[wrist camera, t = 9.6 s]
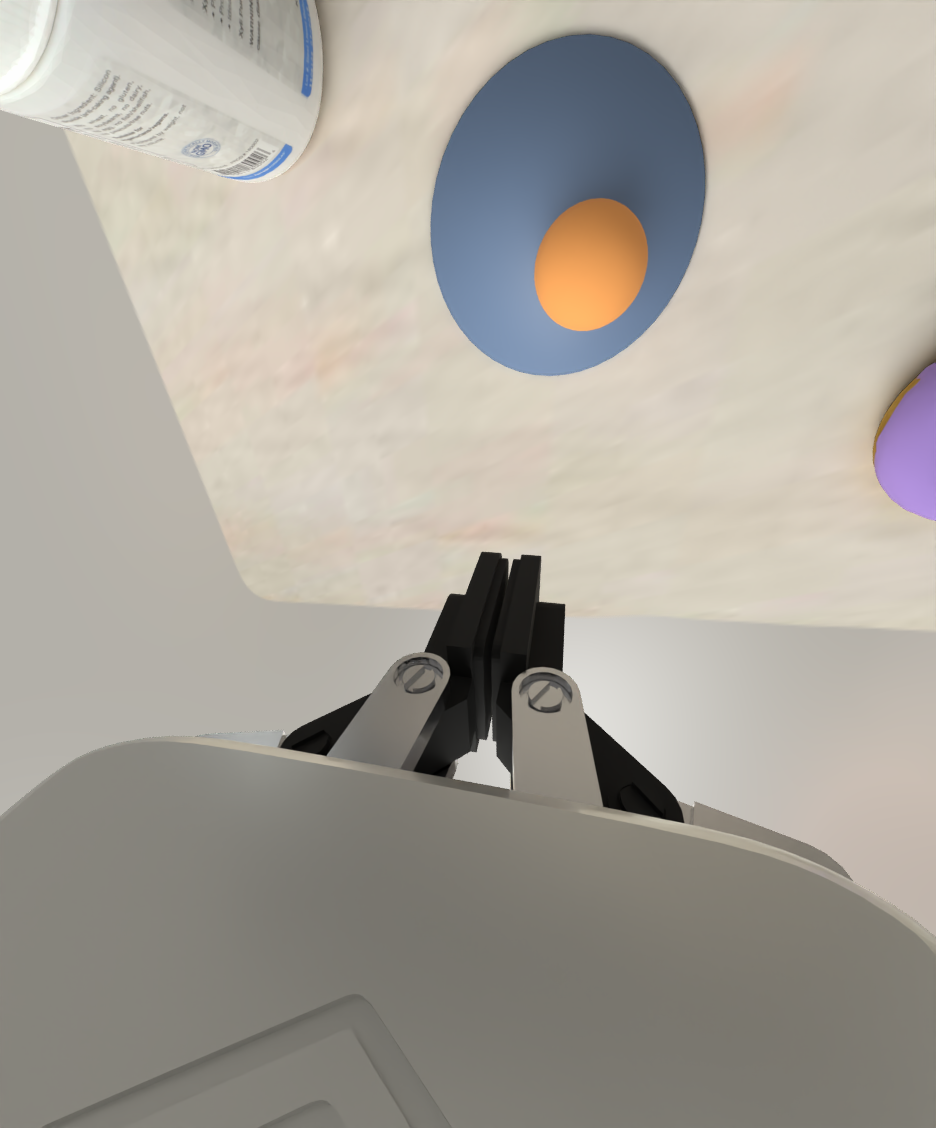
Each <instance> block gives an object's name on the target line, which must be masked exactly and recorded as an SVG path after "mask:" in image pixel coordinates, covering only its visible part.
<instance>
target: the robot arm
mask: <svg viewBox="0 0 936 1128" xmlns="http://www.w3.org/2000/svg"><path fill="white" fill-rule="evenodd" d="M540 572H541V556H534V555H521V559H520V560H519V559H514V560H513V564H512V568H511V572H510V576H509V580H508V559H505V558H502V555H501V553H492V552H481V555H480V557H479V560H478V563H477V565H476V568H475V570H474V573H473V576H472V578H471V581H470V584H469V586H468V589H467V592H466V594H465V595H461V594H450V595H449V596H448V598H447V601H446V603H445V605H444V608H443V610H442V612H441V615H440V617H439V619H438V621H437V624H436V626H435V628H434V631H433V633H432V636H431V638H430V640H429V642H428V645H427V647H426V649H425V652H420V653H413V654H410V655H407V656H404V657H402V658H401V659H399V660H397V661H396V662H395V663H394V664H393V665H392V666H391V667H390V669H389V670H388V672H387V673H386V674H385V676H384V677H383V678H382V680H381V681H380V682H379V684H378V685H377V687H376V688H375V689H374V691H373V692H372V693H371V694H369V695H367V696H364V697H362V698H360V699H358V700H356V701H354V702H352V703H350V704H348V705H345V706H343V707H341V708H339V709H337V710H335V711H333V712H331V713H328V714H326V715H325V716H322V717H320V718H318V719H316V720H314V721H312V722H309V723H307V724H305V725H303V726H301V727H300V728H298V729H297V730H295V731H293V732H292V733H291V734H290V735H286V734H285V732H284V730H276V731H257V732H238V733H218V734H205V735H199V736H195V737H192V736H166V737H152V738H143V739H137V740H133V741H126V742H121V743H117V744H113V745H109V746H106V747H103V748H100V749H97V750H94V751H91V752H89V753H87V754H84V755H82V756H80V757H78V758H76V759H75V760H73V761H71V762H70V763H68V764H67V765H65V766H63V767H62V768H60V769H59V770H57V771H56V772H55V773H53V774H52V775H50V776H49V777H48V778H46V779H45V780H44V781H43V782H41V783H40V784H39V785H37V786H36V787H35V788H34V789H33V790H31V791H30V792H29V793H28V794H26V795H25V796H24V797H23V798H21V799H20V800H19V801H18V802H17V803H15V804H14V805H13V806H12V807H10V808H9V809H8V810H7V811H6V812H5V813H4V814H2V815H1V816H0V1128H936V937H935V936H934V935H933V934H931V933H930V932H929V931H928V930H927V929H925V928H924V927H923V926H922V925H921V924H919V923H918V922H917V921H916V920H914V919H913V918H912V917H910V916H909V915H907V914H906V913H904V912H903V911H901V910H900V909H898V908H897V907H896V906H894V905H893V904H891V903H889V902H888V901H886V900H885V899H883V898H881V897H880V896H878V895H876V894H875V893H873V892H872V891H870V890H868V889H866V888H865V887H863V886H861V885H859V884H857V883H855V882H854V881H853V880H852V879H851V878H850V876H849V875H848V874H847V872H846V871H845V870H844V869H843V867H841V866H840V865H839V864H838V863H837V862H836V861H834V860H833V859H832V858H831V857H830V856H828V855H827V854H826V853H824V852H822V851H820V850H818V849H816V848H815V847H813V846H811V845H808V844H806V843H803V842H801V841H798V840H796V839H793V838H790V837H788V836H785V835H782V834H779V833H777V832H774V831H772V830H769V829H766V828H764V827H761V826H759V825H756V824H753V823H751V822H748V821H745V820H743V819H740V818H737V817H735V816H732V815H729V814H726V813H724V812H721V811H719V810H716V809H713V808H711V807H708V806H706V805H703V804H700V803H697V802H694V804H693V806H690V805H687V804H685V803H682V802H680V801H677V800H676V798H675V797H674V796H673V794H672V793H671V792H670V791H669V790H668V789H667V788H666V786H665V785H663V784H662V783H661V782H660V781H659V780H658V779H657V778H656V777H655V776H653V775H652V774H651V773H650V772H649V771H648V770H647V769H646V768H645V767H644V766H643V765H641V764H640V763H639V762H638V761H637V760H636V759H635V758H634V757H633V756H632V755H630V754H629V753H628V752H627V751H626V750H625V749H624V748H623V747H622V746H621V745H619V744H618V743H617V742H616V741H615V740H614V739H613V738H612V737H611V736H610V735H608V734H607V733H606V732H605V731H604V730H603V729H602V728H601V727H600V726H599V725H597V724H596V723H595V722H594V721H593V720H592V719H591V718H589V716H587V715H586V714H585V713H584V709H583V704H582V699H581V695H580V691H579V688H578V686H577V684H576V683H575V682H574V680H572V678H571V677H570V676H568V675H566V674H565V673H563V672H562V671H563V669H562V668H563V647H564V621H565V604H557V603H547V602H539V590H540ZM491 717H492V727H493V729H492V730H493V741H496V743H497V745H496V746H497V757H498V758H499V759H500V761H501V762H502V763H503V765H504V766H505V767H506V768H507V770H508V771H509V772H510V789H504V788H499V787H493V786H488V785H483V784H477V783H472V782H466V781H461V780H455V779H453V776H454V774H455V772H456V768H457V764H458V758H460V757H462V756H463V755H465V754H466V753H468V752H470V751H472V752H477V747H478V743H479V739H483V740H486V739H487V737H488V732H489V727H490V722H491Z"/></svg>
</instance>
